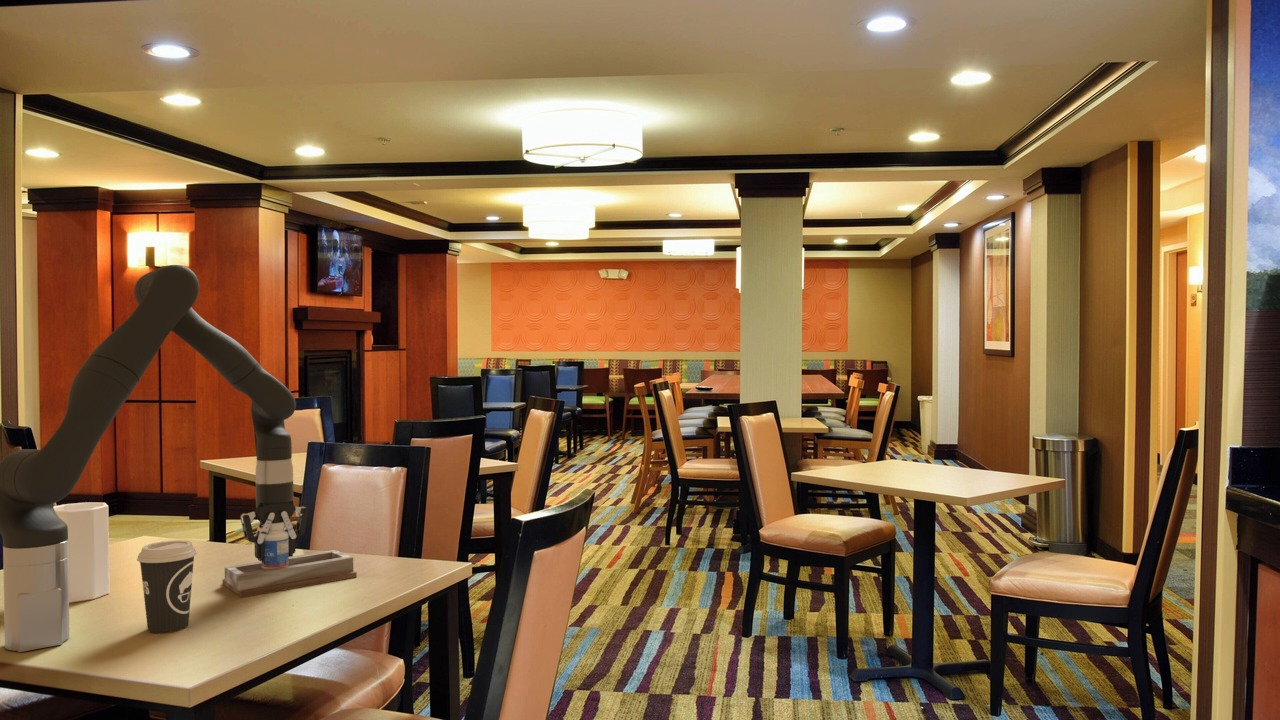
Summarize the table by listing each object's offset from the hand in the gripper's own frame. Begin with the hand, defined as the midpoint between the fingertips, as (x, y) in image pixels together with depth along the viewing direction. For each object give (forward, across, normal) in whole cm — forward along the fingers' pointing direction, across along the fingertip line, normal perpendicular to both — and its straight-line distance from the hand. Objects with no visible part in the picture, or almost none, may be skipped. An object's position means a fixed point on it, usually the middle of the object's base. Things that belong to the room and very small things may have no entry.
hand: (275, 557), depth 189 cm
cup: (+6, -34, +17) cm, 38 cm away
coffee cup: (+6, -25, -19) cm, 32 cm away
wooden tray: (+5, +3, 0) cm, 6 cm away
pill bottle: (+2, 0, 0) cm, 2 cm away
